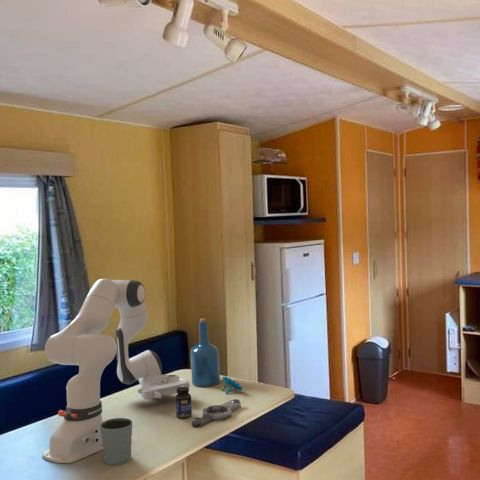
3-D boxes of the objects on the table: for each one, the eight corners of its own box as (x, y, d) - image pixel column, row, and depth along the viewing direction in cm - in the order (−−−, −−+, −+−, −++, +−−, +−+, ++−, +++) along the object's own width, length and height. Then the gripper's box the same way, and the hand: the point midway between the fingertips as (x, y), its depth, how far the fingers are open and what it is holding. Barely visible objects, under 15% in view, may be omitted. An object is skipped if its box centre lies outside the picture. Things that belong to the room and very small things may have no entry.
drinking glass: (96, 460, 183) (94, 424, 182) (123, 449, 190) (120, 415, 189) (113, 469, 175) (111, 431, 175) (140, 458, 183) (138, 422, 182)
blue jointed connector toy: (247, 389, 243) (231, 375, 239) (240, 401, 240) (224, 387, 237) (234, 386, 252) (218, 373, 249) (227, 398, 249) (211, 385, 246)
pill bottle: (182, 420, 214) (180, 392, 213) (173, 416, 219) (171, 388, 218) (195, 416, 218) (193, 388, 217) (185, 412, 223) (184, 384, 222)
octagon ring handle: (204, 430, 203) (204, 423, 203) (183, 424, 210) (182, 417, 210) (248, 408, 224) (248, 401, 224) (228, 403, 231) (227, 397, 230)
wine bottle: (226, 381, 261) (223, 317, 259) (207, 389, 250) (204, 322, 249) (204, 377, 269) (201, 315, 267) (185, 384, 259) (181, 320, 257)
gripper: (135, 383, 233) (148, 391, 221) (180, 373, 243) (194, 381, 231) (136, 398, 233) (148, 407, 221) (181, 388, 243) (195, 396, 231)
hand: (172, 393), depth 226 cm, fingers open, 8 cm apart
